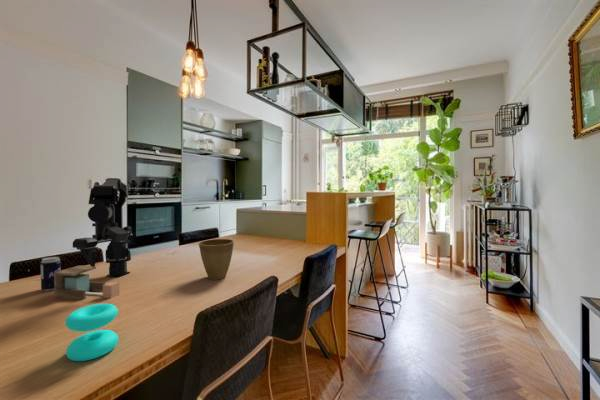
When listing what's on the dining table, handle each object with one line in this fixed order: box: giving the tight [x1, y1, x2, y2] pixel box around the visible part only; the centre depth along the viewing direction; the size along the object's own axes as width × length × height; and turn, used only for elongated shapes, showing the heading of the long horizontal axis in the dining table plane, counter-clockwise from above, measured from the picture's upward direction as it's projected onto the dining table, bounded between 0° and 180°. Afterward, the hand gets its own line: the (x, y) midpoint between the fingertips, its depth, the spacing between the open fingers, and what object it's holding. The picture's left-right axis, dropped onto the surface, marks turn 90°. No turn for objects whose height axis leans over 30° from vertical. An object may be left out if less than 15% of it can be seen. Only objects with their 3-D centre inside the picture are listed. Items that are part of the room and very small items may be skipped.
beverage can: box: [40, 256, 62, 292], centre depth 105 cm, size 6×6×12 cm
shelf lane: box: [53, 265, 107, 300], centre depth 100 cm, size 9×12×9 cm
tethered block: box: [65, 273, 120, 299], centre depth 100 cm, size 5×18×6 cm, turn 81°
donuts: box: [65, 303, 119, 362], centre depth 65 cm, size 10×10×10 cm
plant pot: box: [198, 238, 235, 281], centre depth 121 cm, size 15×15×16 cm
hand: (105, 263), depth 97 cm, fingers open, 9 cm apart
